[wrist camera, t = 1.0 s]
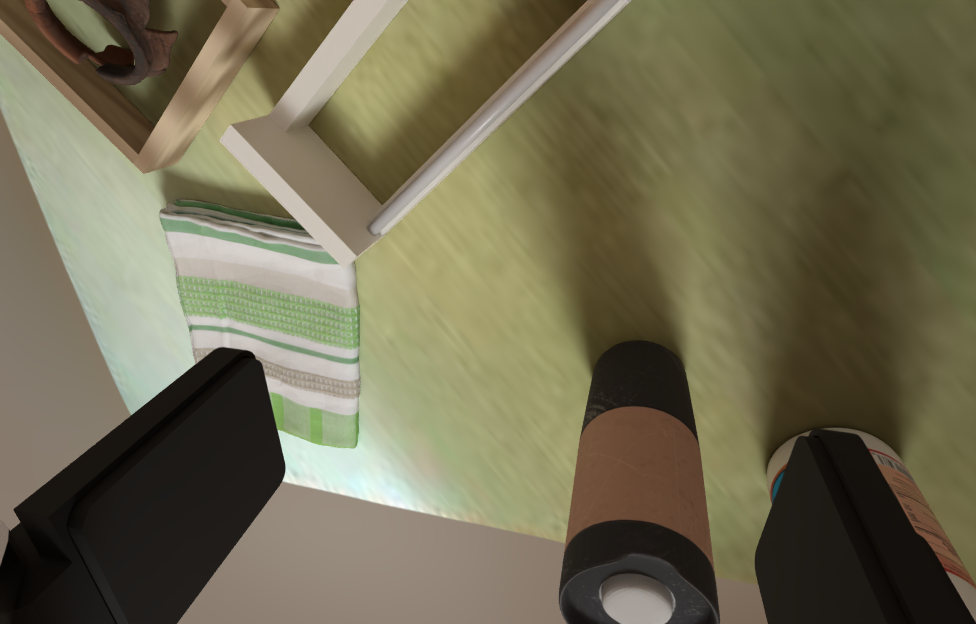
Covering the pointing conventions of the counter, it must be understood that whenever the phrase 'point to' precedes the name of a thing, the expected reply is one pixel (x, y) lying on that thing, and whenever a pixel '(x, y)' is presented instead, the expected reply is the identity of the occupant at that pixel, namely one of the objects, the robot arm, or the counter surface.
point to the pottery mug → (129, 15)
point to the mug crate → (113, 113)
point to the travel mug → (638, 499)
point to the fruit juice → (908, 500)
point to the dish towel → (273, 311)
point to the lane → (324, 177)
